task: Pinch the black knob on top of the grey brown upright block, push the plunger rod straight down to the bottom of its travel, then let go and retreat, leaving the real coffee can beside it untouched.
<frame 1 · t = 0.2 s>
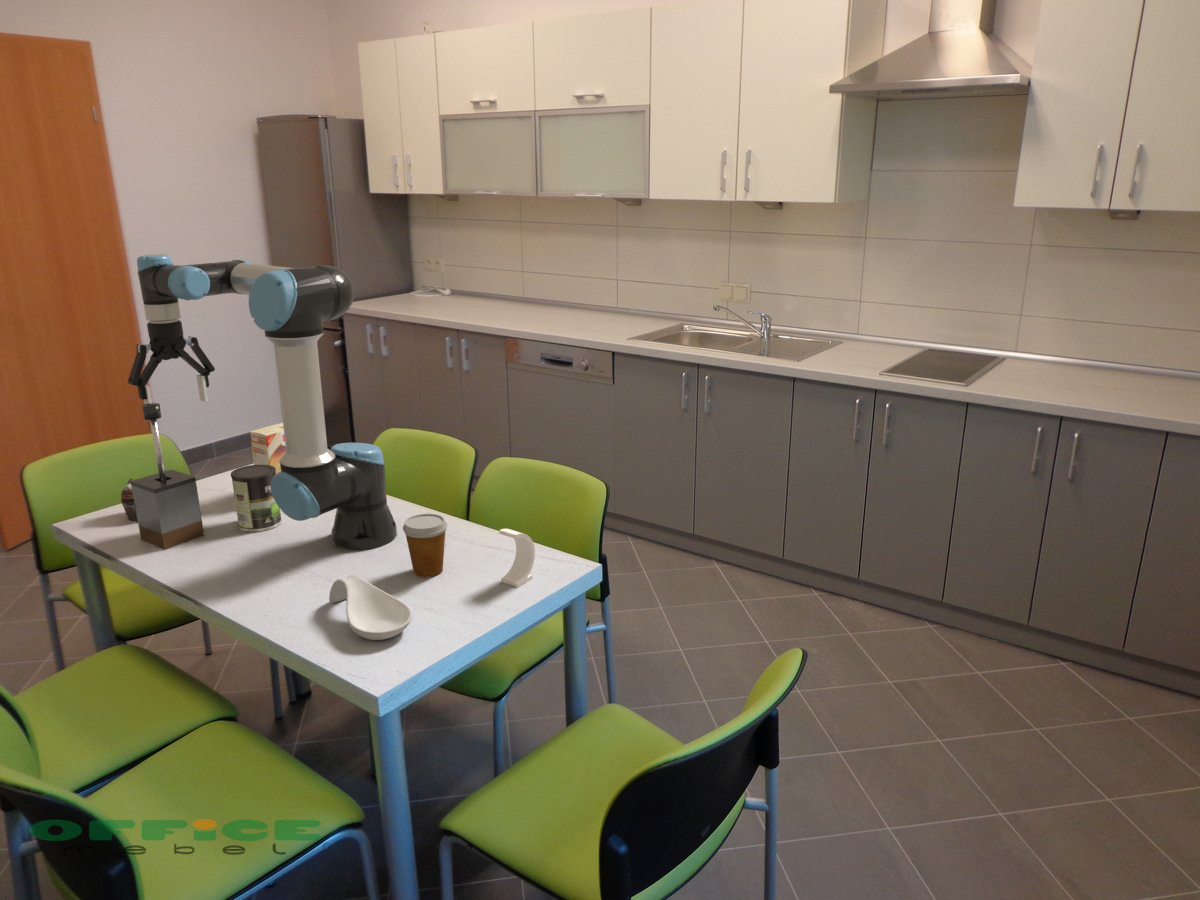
hand: (177, 406, 212), 28 cm above the table, fingers open, 13 cm apart
cupcake: (145, 516, 219), on the table
grey brown upright block: (172, 537, 206), on the table
coffeecake box: (289, 495, 233), on the table
plunger: (157, 447, 199), point 23 cm above the table, slide at 0.0 cm
coffee can: (260, 524, 214), on the table
headphone stand: (518, 580, 185), on the table
spoon rest: (366, 622, 168), on the table
disposable coffee cup: (428, 572, 189), on the table
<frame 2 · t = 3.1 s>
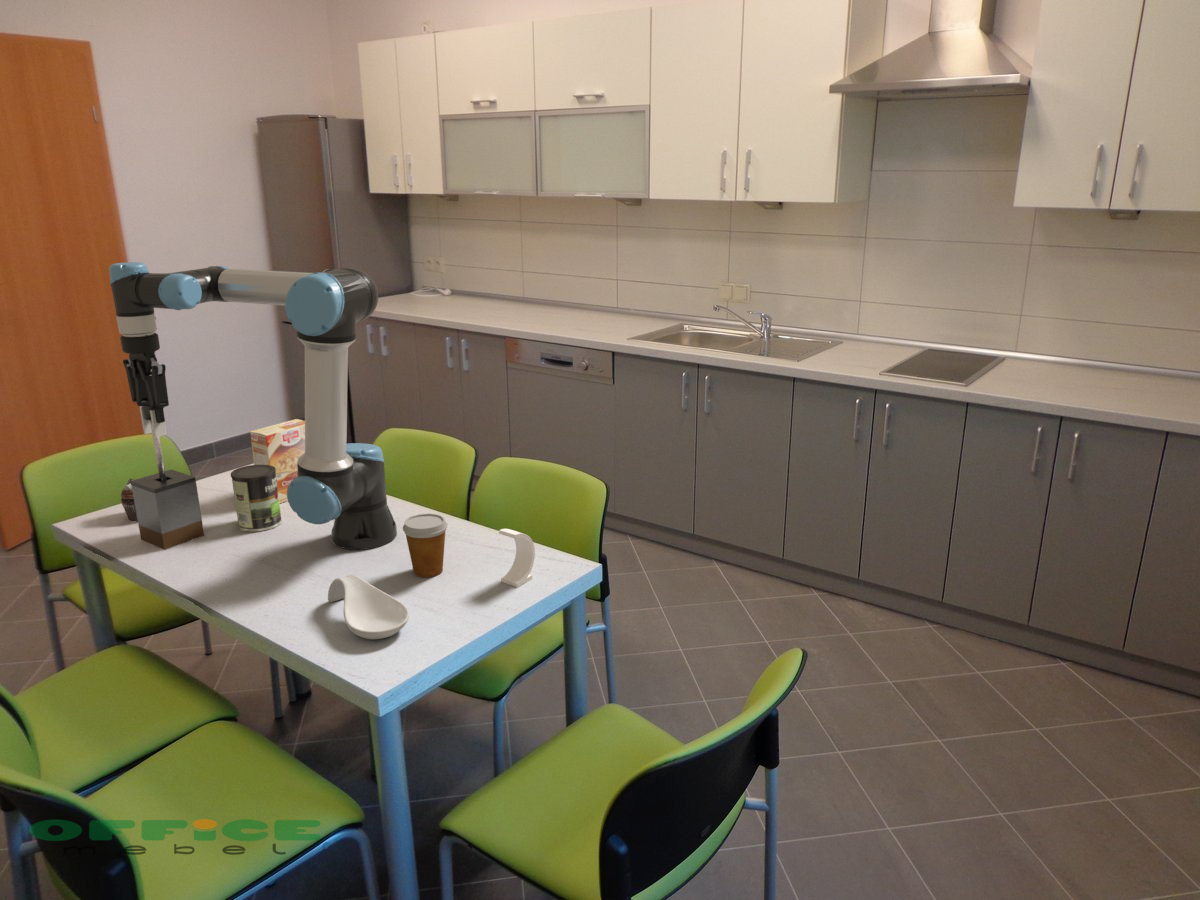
hand: (155, 434, 198), 26 cm above the table, fingers closed on plunger, 4 cm apart
plunger: (157, 447, 199), point 23 cm above the table, slide at 0.0 cm, touching gripper
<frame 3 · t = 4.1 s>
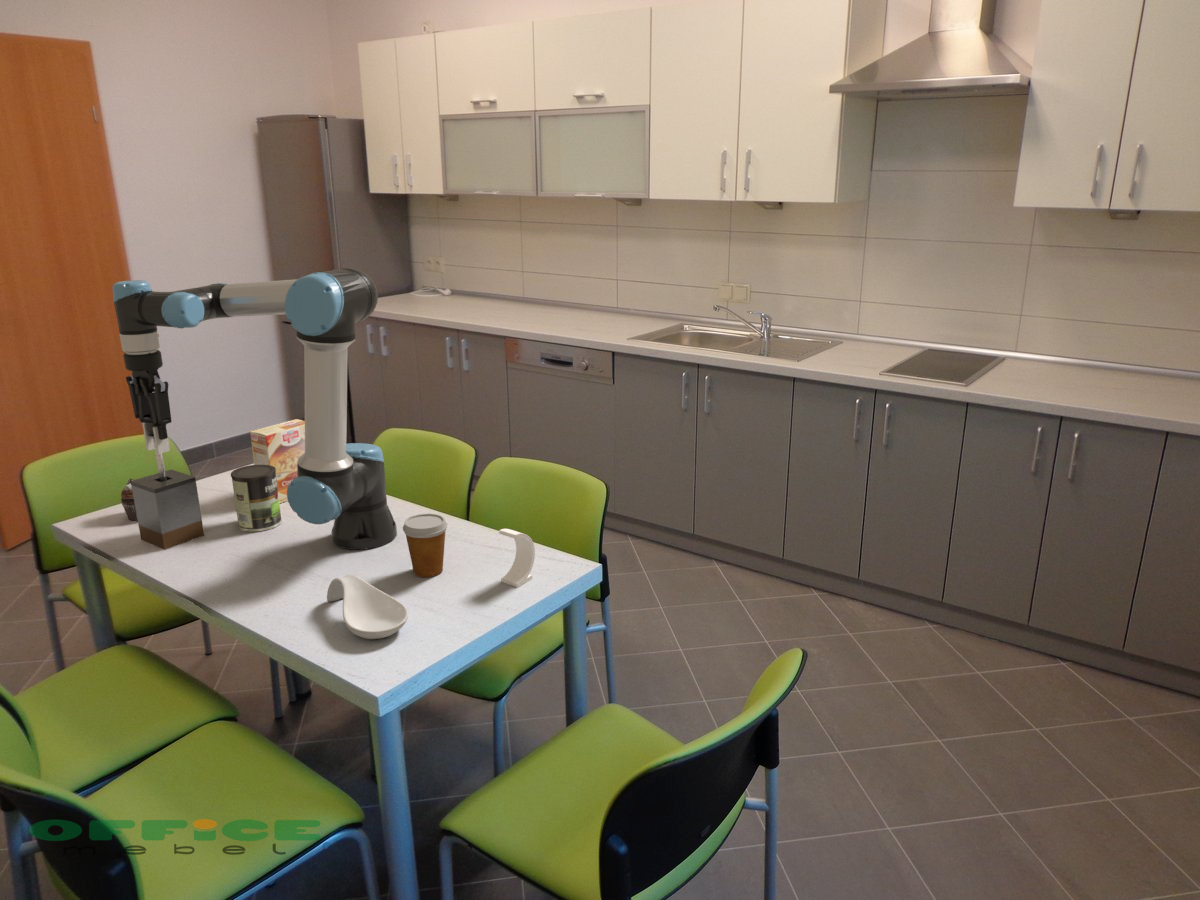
hand: (158, 450, 199), 22 cm above the table, fingers closed on plunger, 4 cm apart
plunger: (160, 463, 200), point 19 cm above the table, slide at 4.0 cm, touching gripper
everything else where it was.
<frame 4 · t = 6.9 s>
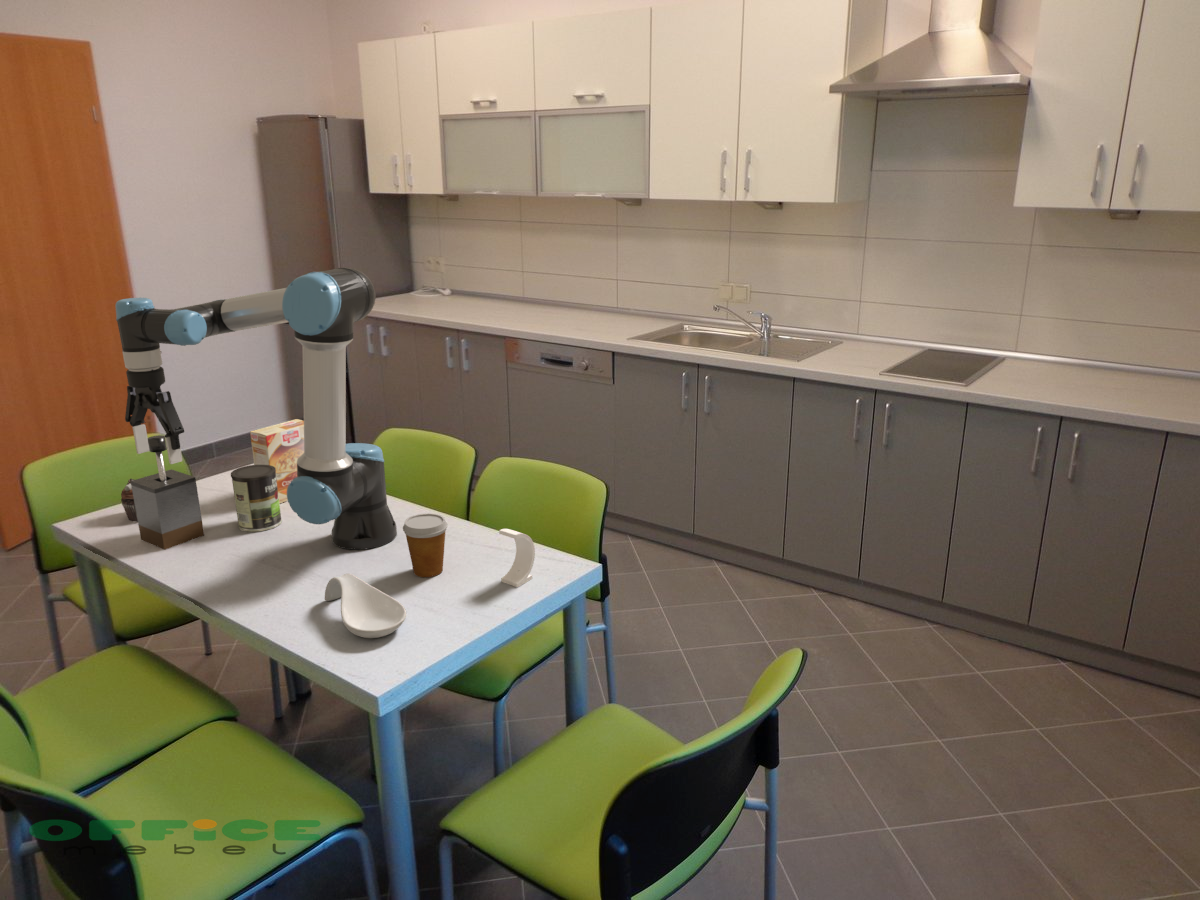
hand: (159, 457, 199), 20 cm above the table, fingers open, 13 cm apart
plunger: (163, 479, 201), point 15 cm above the table, slide at 7.8 cm
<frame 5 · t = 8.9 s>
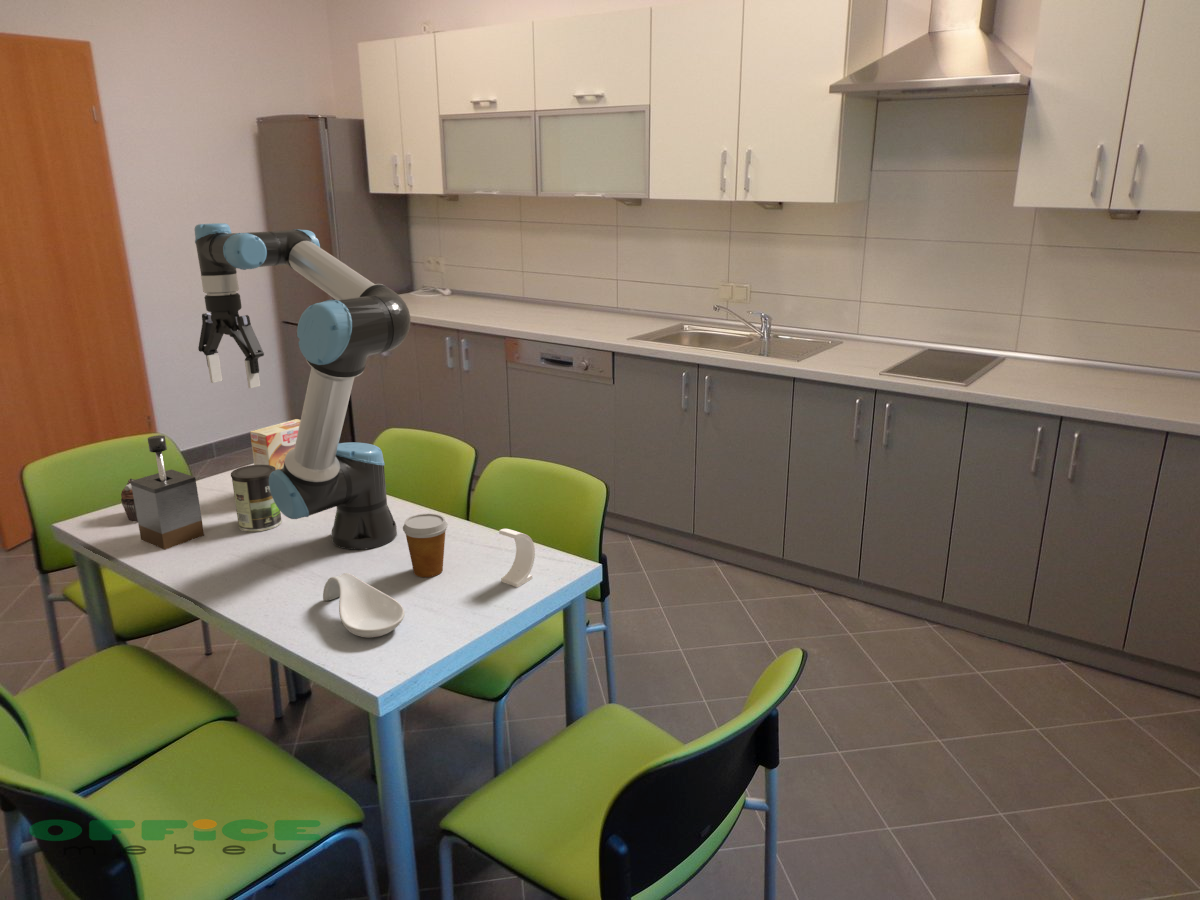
hand: (235, 384, 201), 36 cm above the table, fingers open, 13 cm apart
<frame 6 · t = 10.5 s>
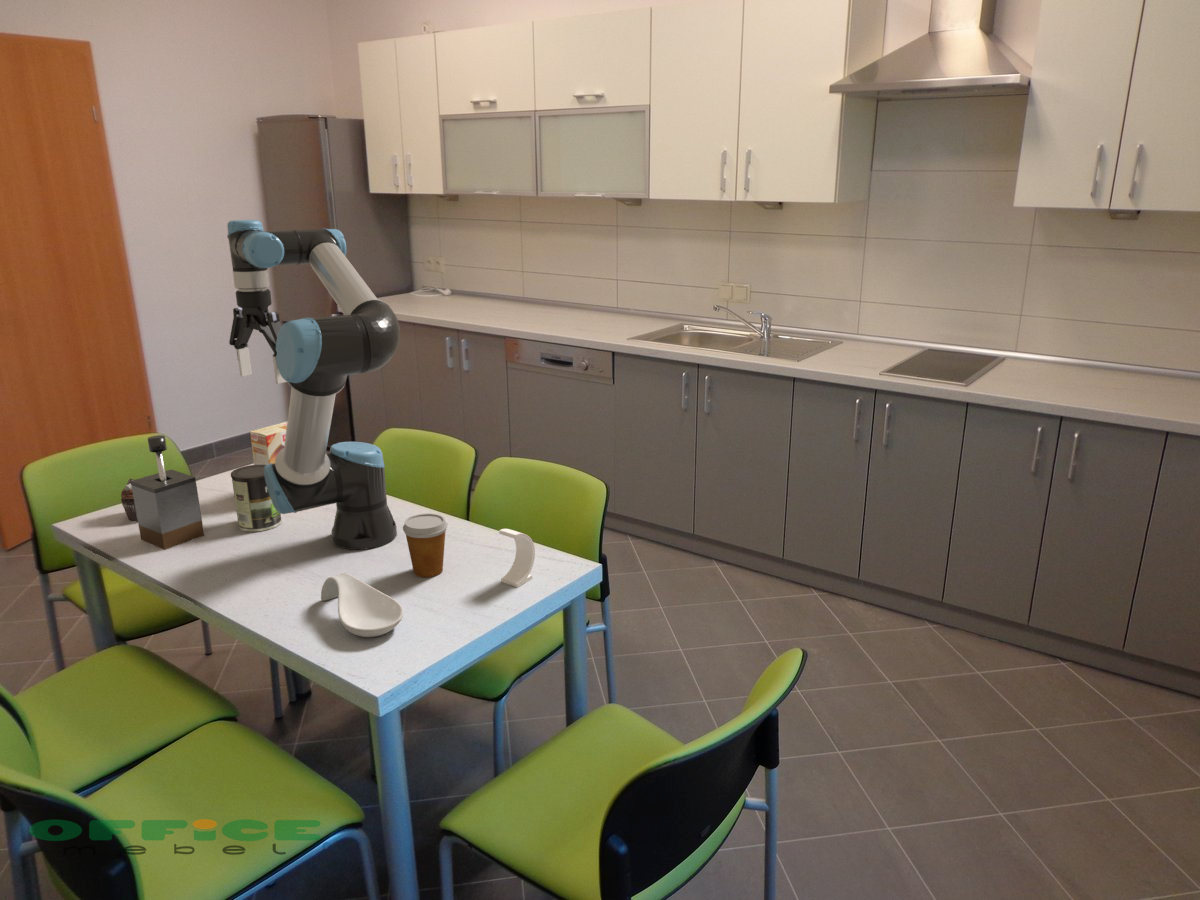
hand: (263, 379, 204), 37 cm above the table, fingers open, 13 cm apart
at the end: plunger slide at 7.8 cm; the gripper is holding nothing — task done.
